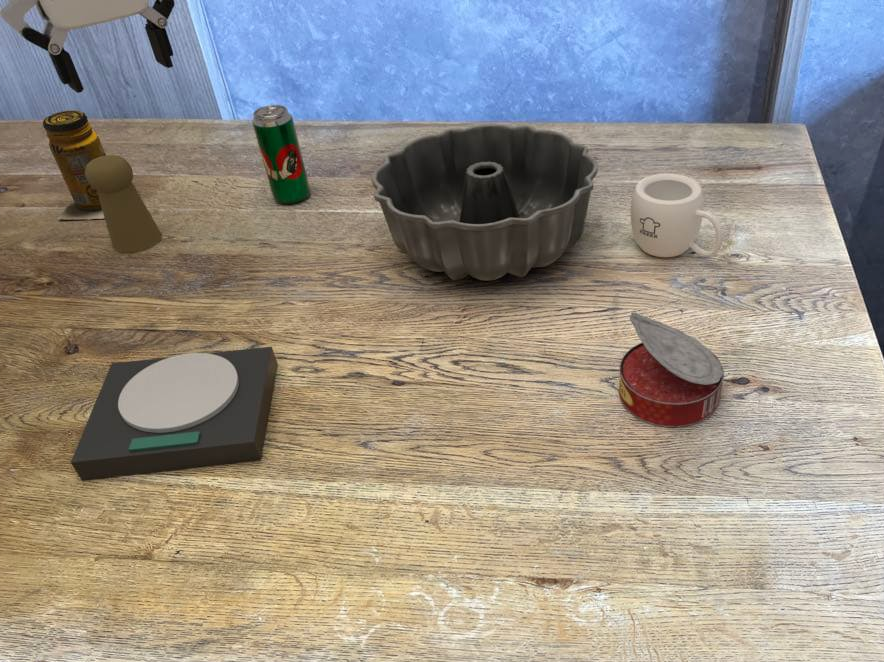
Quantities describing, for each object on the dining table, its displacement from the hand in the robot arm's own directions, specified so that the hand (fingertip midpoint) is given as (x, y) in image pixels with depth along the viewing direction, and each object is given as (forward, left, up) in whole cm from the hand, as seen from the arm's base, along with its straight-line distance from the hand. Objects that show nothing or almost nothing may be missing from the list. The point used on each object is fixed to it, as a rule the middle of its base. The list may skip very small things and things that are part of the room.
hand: (121, 76), depth 88 cm
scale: (+6, -32, -22) cm, 39 cm away
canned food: (+53, -36, -22) cm, 68 cm away
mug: (+60, -11, -22) cm, 65 cm away
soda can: (+12, +12, -22) cm, 28 cm away
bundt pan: (+38, -5, -22) cm, 44 cm away
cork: (-7, +4, -22) cm, 23 cm away
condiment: (-15, +15, -22) cm, 30 cm away
